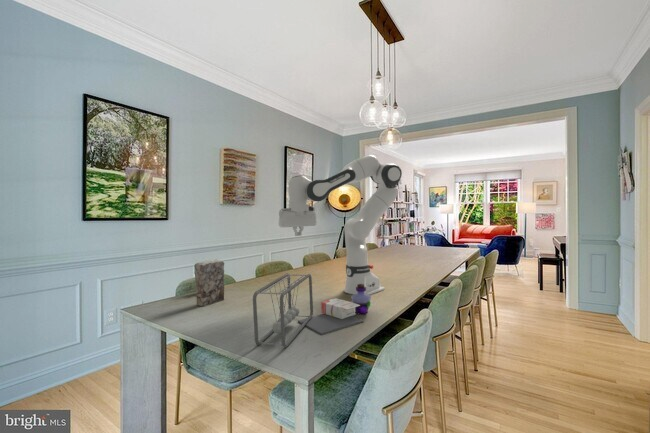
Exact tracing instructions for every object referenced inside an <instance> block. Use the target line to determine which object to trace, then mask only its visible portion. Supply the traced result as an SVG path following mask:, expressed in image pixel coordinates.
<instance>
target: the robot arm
mask: <svg viewBox="0 0 650 433" xmlns="http://www.w3.org/2000/svg"><path fill="white" fill-rule="evenodd" d="M402 174H403V172H402V169H401V167H400V166H399V165H397V164H395V163H380V161H379V159H378V158H377V157H376V156H375V155H373V154H369V155H365V156H361V157H359V158H356V159H354V160H352V161H351V162H349V163H347V164H346V165H345V166H344V167H343V168H342V170H341V171H339V172H337V173H336V174H334V175H332V176H330V177H328V178H326V179H314V180H311V179H309V178H307V177H306V176H305V175H296V176H292V177H291V178H289V179H288V180H289V181H288V198H289V200H288V207H287V208H284V207H283V208H281V209H279V211H278V216H279V217H278V226H279V228H292V230H293V232H294V236H295V237H300V236H301V237H302V235H303V234H302V232H303V231H304V228H305V227H314V226H316V225H317V214H316V212H315V211H316V207H315V206H312V205H310V204H307V201H310V202H322V201H324V200H325V199H326V198H327V197H328V196H329V195H330V193H331V192H333V191H335V190H336V189H338V188H340V187H342V186H346V185H353V184H356V183H359V182H361V181H363V180H366V179H367V178H370V179H371V181H372V182H374V183H375V184H376V185H378V186H377V190H376V191H375V192H374V193H373V194H371V196H370V198H368V200H367V201H366V202H365V203H364V204H363V205H362V207H361V208H360V210H359V211H358V213H357V214H356V216H355V217H352V218H350V219H347V220H346V222H345V224H344V226H343V228H344V230H343V232H344V242H345V250H346V251H345V252H346V264H345V274H346V276H345V278H346V280H345V283H344V284H345V286H344V288H343V289H344V290H343V292H344V293H346V294H349V295H354V294H358V292H357V291H356V287H358V286H357V285H358V284H364V287H366V291H364V294H368V295H370V296H372V295H373V294H376V293H378V292H382V291H384V290H385V286H383V285H381V282H380V279H379V277H378V276H376V274H374V273H373V272H372V271H371V270H373V269H374V268H375V267H374V265H373V264H369V263H368V247H367V244H366V238H367V237H369V235H370V234H371V232H372V230H373V229H374V227H375V226H376V225H377V223H378V221H379V220H380V218H381V217H382V216H383V215H384V214H386V212H387V211H388V209H389V208H390V207H391V206H392V204H393V203H394V202H395V200H396V199H397V197H398V194H399V191H398V189H397V187H398V186H399V184H400V183H399V182H400V180H402V179H401V178H402V177H403V176H402ZM298 229H299V230H298Z"/></svg>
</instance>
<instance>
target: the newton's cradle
mask: <svg viewBox="0 0 650 433" xmlns="http://www.w3.org/2000/svg"><path fill="white" fill-rule="evenodd" d="M292 276H295V277H296V276H299V277H297V278H296V280H293V281H292V283H291V277H292ZM307 279H308V286H309V288H308V289H309V292H308V293H309V309H310V310H309V312H310V313H309V315H301V314H300V308H299V307H298V306H296V304H297V302H295V304H294V300H292V299H293V298H294V296H295V293H293V294H292V290H293V291H295V290H296V287H299V285H300V284H301V283H303V282H304V281H305V280H307ZM285 281H286V282H285ZM281 283H285V284H283V288H281V285H280V284H281ZM286 284H287V285H286ZM276 286H278V287H279V290H280V291H279V292H277V288H275V287H276ZM273 287H274V290H275V292H271V289H273ZM298 290H299V288H297V290H296V292H298ZM267 291H269V292H267ZM259 294H264V295H266V294H267V295H270V296H271V298H270V299H271V302H272V306H273V308H275V306H274V301H273V295H276V296H278V295H280V296H279V298H278V297H276V299H277V303H278V304H277V305H279V306H278V308H279V316H278V319H275V322H273V324H272V326H271V329H270V330H268V332H267V333H266V334H265V335H264V336H263V337H262V338H260V339H259V328H258V327H259V326H258V304H257V303H258V302H257V297H258V295H259ZM292 295H293V296H292ZM284 297H286V299H285V302H284ZM297 297H298V295H296V297H295V300H297V299H298V298H297ZM313 298H314V297H313V278H312V275H311V274H310V273H308V274H293V273H292V274H290V273H288V272H287V273H285V274H283V275H281V276H279V277H278V278H276V279H274V280H273V281H270V282H269V283H268V284H266V285H264V286H263V287H261V288H259V289H257V290H256V291H254V292H253V296H252V311H253V312H252V314H253V330H254V335H253V336H254V343H255V345H256V346H260V345H271V346H281V347H283V348H287V347H288V346H289V345H290V344H291V343H292V342H293V340H294V339H295V338H296V337H297V335H299V333H300V332H301V331H302V330H303V328H304V327H306V326H305V325H306V324H307V322H308V321H309V320H310V319H311V318H312V317H313V316H314V302H313V300H314V299H313ZM286 302H287V307H288V308H287V311H286ZM273 312H274V313H276V312H275V309H273ZM299 314H300V315H299ZM274 315H275V318H277V317H276V316H277V315H276V314H274ZM296 317H299V318H300V317H303V318H305V319H306V318H307V319H306V320H305V321H304V322H303V324H301V325H300V326H299V327H298V328H297V329H296V330H295V331H294V333H293V334H292V335H291V336H290V337H289V338H288V339H287V341H286V332H285V328H286V327H287V326H288V324H291V323H292V321H293V320H294V319H296ZM273 333H275V334H281V335H280V337H281V340H280V341H281V343H272V342H265V341H266V340H267V339H268V337H270V336H271V335H272V334H273Z"/></svg>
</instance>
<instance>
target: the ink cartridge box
mask: <svg viewBox="0 0 650 433" xmlns="http://www.w3.org/2000/svg"><path fill="white" fill-rule="evenodd" d="M320 305H321V314H327V315H330V316H333V317H336V318H339V319H344V318H347V317H350V316H355V315H356V313H355V307H358V306H360V305H358V304H356V303H353V302H352V301H348V300H344V299H340V298H336V297H334V298H331V299H328V300H325V301H321V304H320Z"/></svg>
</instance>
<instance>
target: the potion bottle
mask: <svg viewBox="0 0 650 433" xmlns="http://www.w3.org/2000/svg"><path fill="white" fill-rule="evenodd" d="M357 286H358V287H356V291H357V292H358V294H351V295H350V298H351V302H353V303H356V304H358V305H360V306H358V307H355V312H356V313H359V314H358V315H360V314H361V315H366V314H365V313H367V314H368V311H369V308H370V307H371V298H372V295H368V294H364V291H366V287H364V284H358V285H357ZM356 313H355V314H356Z"/></svg>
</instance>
